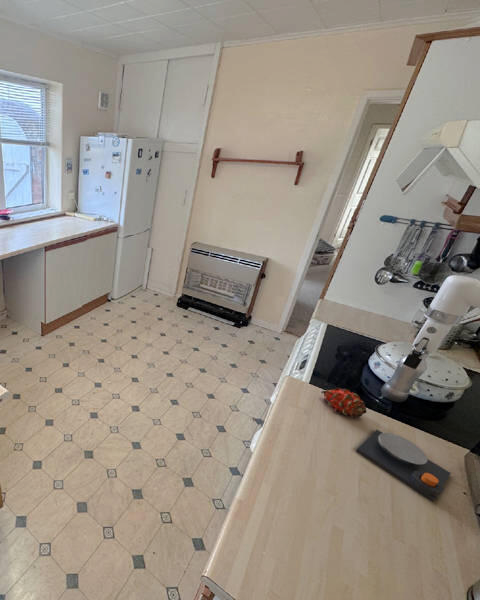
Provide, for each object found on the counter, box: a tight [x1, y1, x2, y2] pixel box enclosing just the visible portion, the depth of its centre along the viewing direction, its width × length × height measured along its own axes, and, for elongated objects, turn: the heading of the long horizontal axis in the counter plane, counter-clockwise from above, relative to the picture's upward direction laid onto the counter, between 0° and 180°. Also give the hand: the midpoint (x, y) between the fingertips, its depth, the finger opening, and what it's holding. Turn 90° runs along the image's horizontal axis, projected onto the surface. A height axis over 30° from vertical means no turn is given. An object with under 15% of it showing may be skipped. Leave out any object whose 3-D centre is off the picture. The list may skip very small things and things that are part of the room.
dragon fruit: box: [320, 387, 367, 419], centre depth 103 cm, size 8×8×12 cm
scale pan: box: [378, 432, 428, 466], centre depth 87 cm, size 10×10×1 cm
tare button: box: [421, 473, 439, 487], centre depth 79 cm, size 3×3×2 cm
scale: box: [355, 429, 452, 503], centre depth 86 cm, size 16×14×4 cm
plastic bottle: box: [380, 351, 430, 403], centre depth 107 cm, size 6×7×20 cm
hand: (413, 363), depth 105 cm, fingers closed on plastic bottle, 6 cm apart
